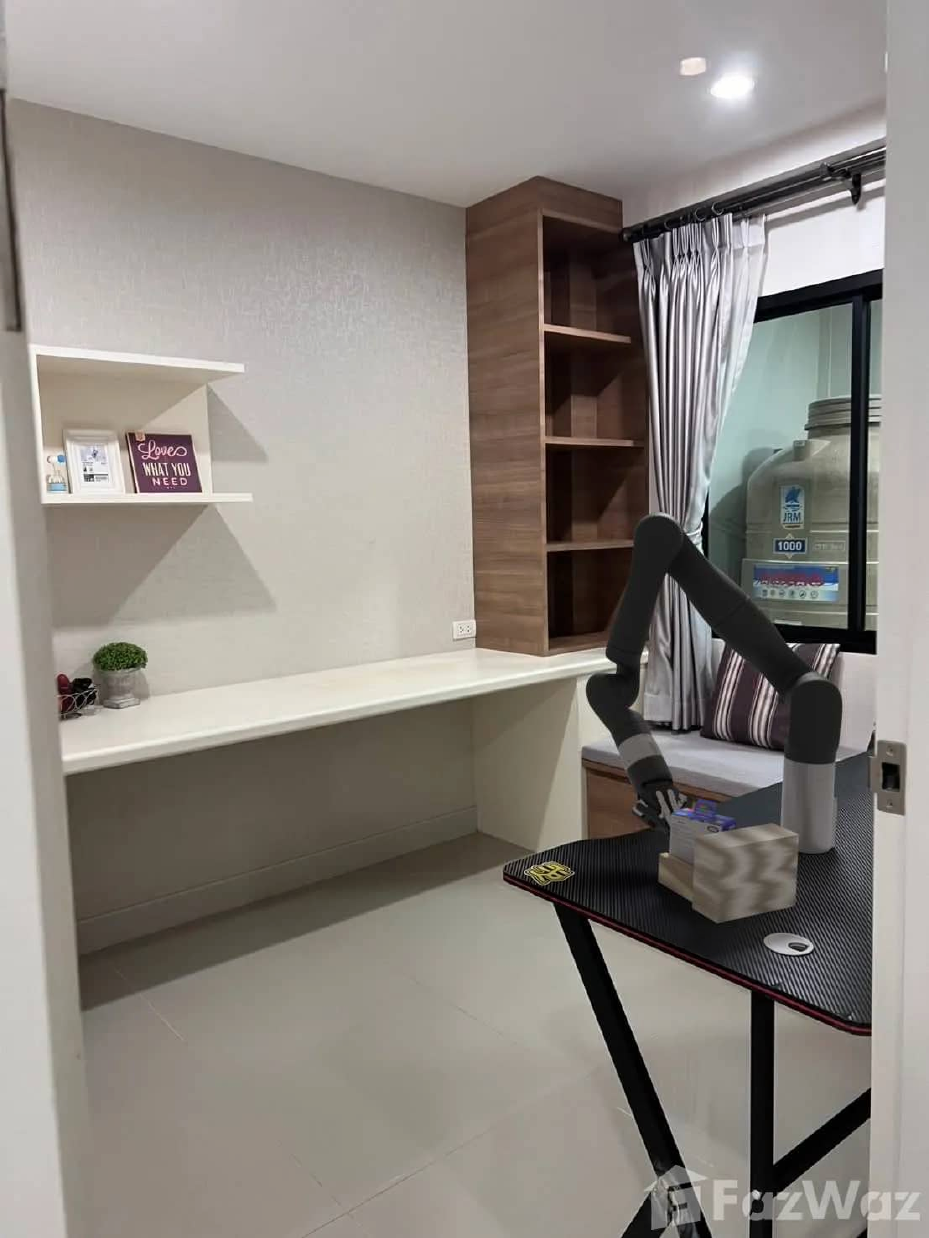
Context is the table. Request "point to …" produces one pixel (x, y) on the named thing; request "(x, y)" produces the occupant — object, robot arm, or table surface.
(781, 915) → the table surface
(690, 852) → the ink cartridge box
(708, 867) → the cartridge dock
